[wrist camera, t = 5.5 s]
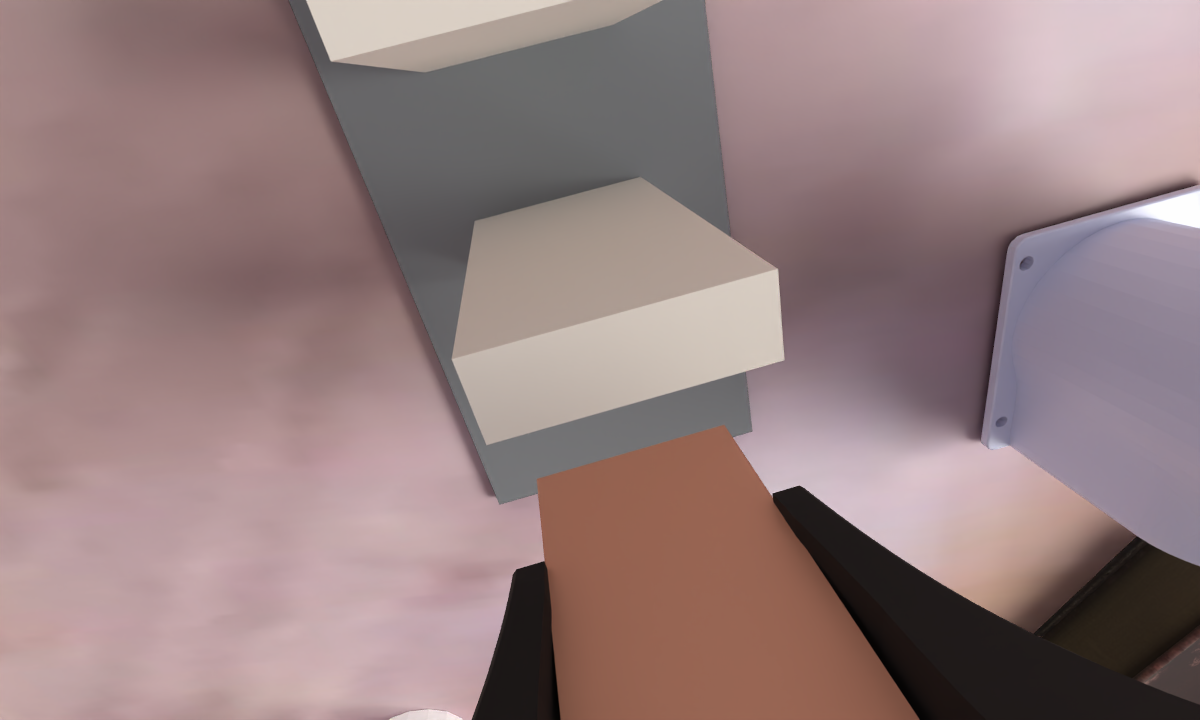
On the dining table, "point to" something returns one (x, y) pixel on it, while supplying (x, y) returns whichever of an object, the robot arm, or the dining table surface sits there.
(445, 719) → the beverage cup
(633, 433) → the slate mat
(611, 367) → the domino
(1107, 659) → the diary
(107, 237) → the dining table surface
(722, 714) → the terracotta domino
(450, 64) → the domino
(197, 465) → the dining table surface
